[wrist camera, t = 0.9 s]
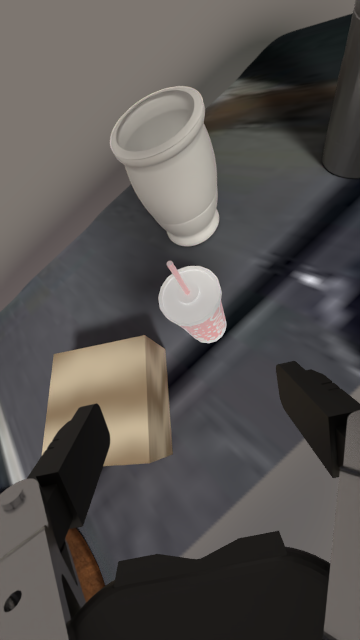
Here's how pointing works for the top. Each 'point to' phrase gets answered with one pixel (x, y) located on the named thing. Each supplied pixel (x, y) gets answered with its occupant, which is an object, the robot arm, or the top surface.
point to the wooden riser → (116, 397)
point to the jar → (171, 162)
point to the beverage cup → (194, 302)
